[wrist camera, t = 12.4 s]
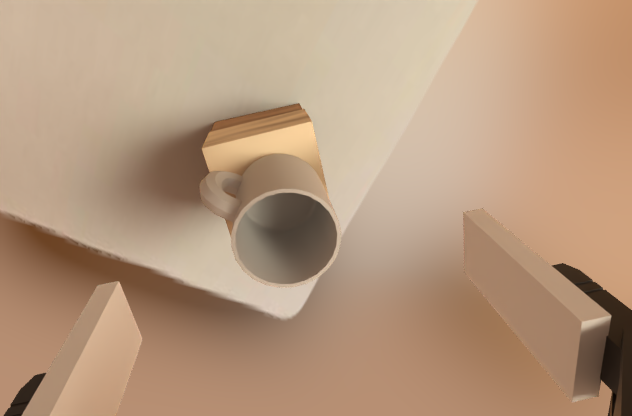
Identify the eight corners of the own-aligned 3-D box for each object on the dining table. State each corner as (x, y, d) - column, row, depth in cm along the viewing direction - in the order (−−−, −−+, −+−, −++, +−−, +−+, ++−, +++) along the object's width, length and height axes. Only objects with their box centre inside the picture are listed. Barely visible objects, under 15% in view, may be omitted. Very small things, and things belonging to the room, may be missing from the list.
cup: (300, 243, 39) (313, 300, 31) (191, 203, 36) (172, 254, 28) (336, 171, 37) (359, 212, 28) (223, 123, 34) (213, 153, 26)
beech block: (209, 132, 40) (201, 148, 34) (304, 108, 40) (311, 121, 35) (236, 218, 44) (234, 246, 38) (324, 196, 44) (333, 220, 38)
